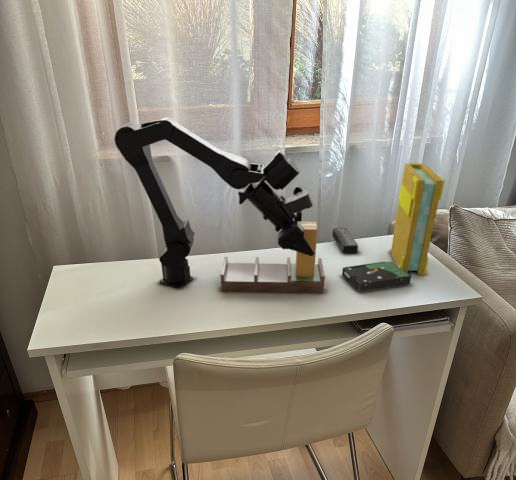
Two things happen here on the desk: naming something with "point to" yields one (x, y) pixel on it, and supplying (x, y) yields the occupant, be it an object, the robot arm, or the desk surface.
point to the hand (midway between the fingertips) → (312, 247)
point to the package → (303, 261)
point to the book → (416, 217)
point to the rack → (269, 278)
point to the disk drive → (375, 276)
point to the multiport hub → (345, 240)
